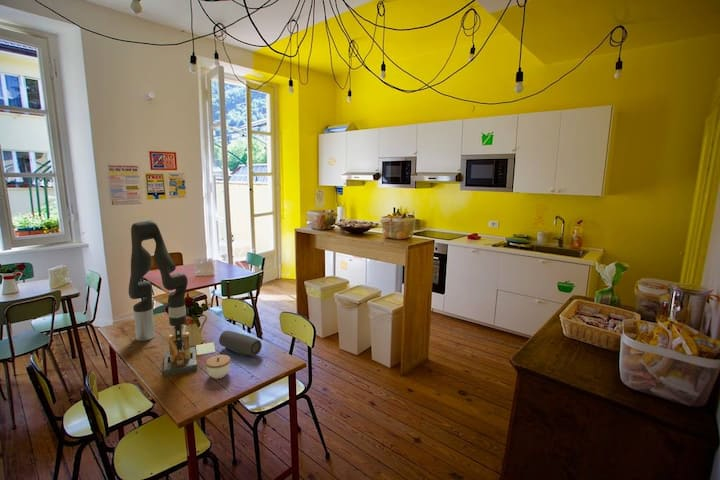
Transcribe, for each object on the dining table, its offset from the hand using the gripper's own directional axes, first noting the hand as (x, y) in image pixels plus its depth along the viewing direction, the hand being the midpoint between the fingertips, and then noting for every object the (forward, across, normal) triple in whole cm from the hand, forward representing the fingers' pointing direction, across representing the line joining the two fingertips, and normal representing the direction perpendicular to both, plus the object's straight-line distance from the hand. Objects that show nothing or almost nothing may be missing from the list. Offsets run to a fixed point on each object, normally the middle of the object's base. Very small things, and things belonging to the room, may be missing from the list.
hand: (179, 345), depth 173 cm
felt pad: (+10, -11, +12) cm, 19 cm away
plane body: (+10, 0, 0) cm, 10 cm away
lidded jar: (+10, +19, +16) cm, 27 cm away
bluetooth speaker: (+10, 0, +29) cm, 30 cm away
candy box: (+10, 0, 0) cm, 10 cm away
